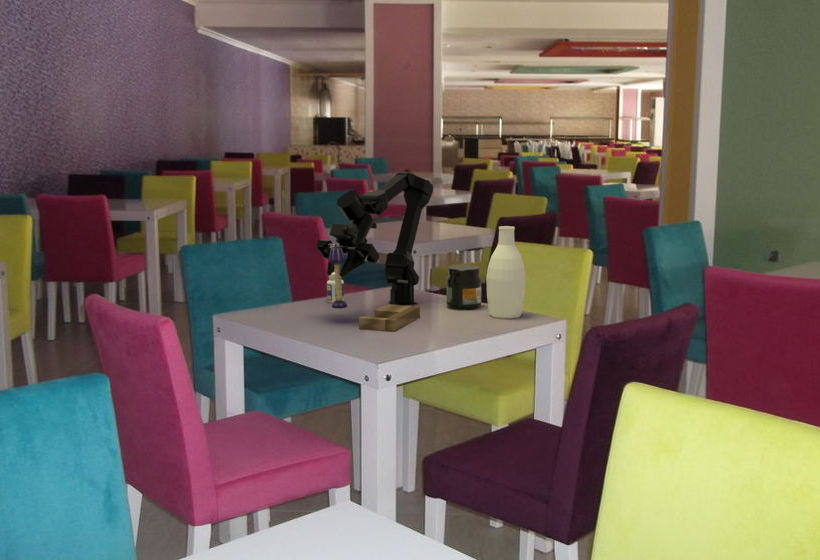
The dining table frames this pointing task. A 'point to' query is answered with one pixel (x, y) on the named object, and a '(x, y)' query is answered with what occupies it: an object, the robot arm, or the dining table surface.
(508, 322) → the dining table surface
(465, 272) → the supplement container
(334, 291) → the pill bottle
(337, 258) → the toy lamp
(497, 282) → the bottle
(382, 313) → the notched board
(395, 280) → the robot arm
